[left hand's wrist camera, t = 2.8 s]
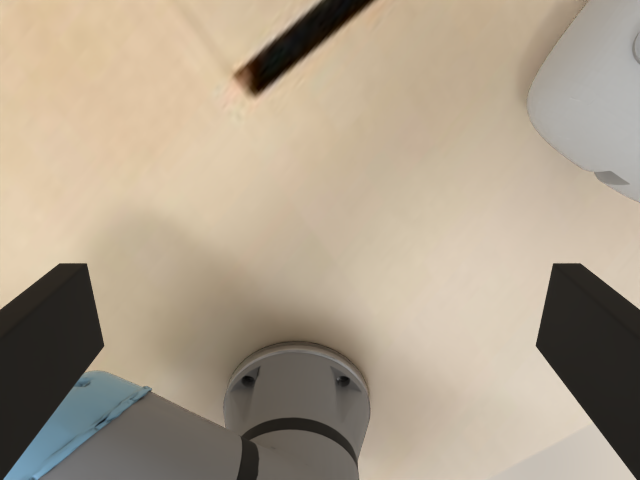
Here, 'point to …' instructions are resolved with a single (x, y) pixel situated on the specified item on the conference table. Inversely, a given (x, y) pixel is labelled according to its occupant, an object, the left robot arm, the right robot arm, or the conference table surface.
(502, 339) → the conference table surface
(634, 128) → the projector
